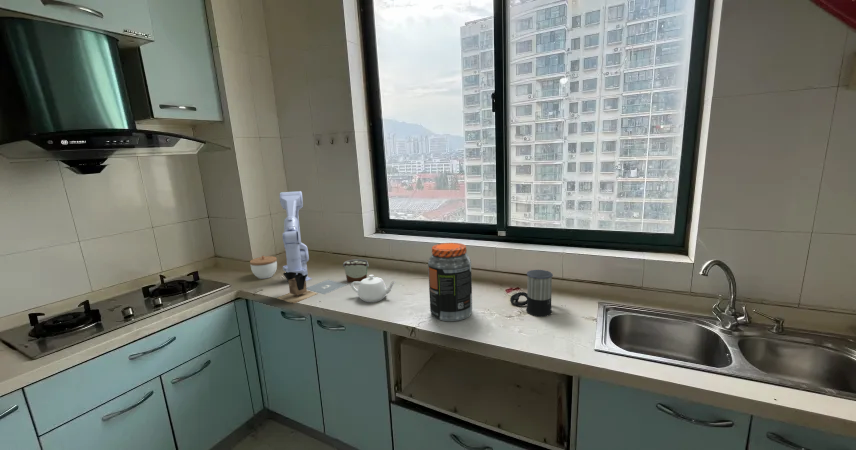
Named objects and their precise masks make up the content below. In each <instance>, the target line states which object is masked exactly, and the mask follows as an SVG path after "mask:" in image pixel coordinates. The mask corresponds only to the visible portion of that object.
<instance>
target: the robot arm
mask: <svg viewBox="0 0 856 450" xmlns="http://www.w3.org/2000/svg"><path fill="white" fill-rule="evenodd" d="M303 197H304V196H303V192H302V191H301V190H299V191H297V190H296V191H287V192H286V191H281V192H280V193H279V203H280V206H281V208H282V209H283V210H285V212H286V217H284V219H283V232H282V241H283V247H284V250H285V257H286V265H283V266H282V271H284V272H283V276H284V277H285V278H286V281H287V282H288V284H289V280H290V279H293V278H295V280H296V282H297V287H298V290H302V289H304V283H305V279H306V282H308V281H310V280H311V281H312V279H313V278H312V277H309V276H308V274H309V273H308V265H307V263H308V262H309V260H310V256H309V249H308V246H307V245H306V244H305V243H303V242H302V238H301V237H302V236H301V228H300V218H299V211H300V210H301V209H302V208H303V206H304V201H303V200H304V198H303Z"/></svg>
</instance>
